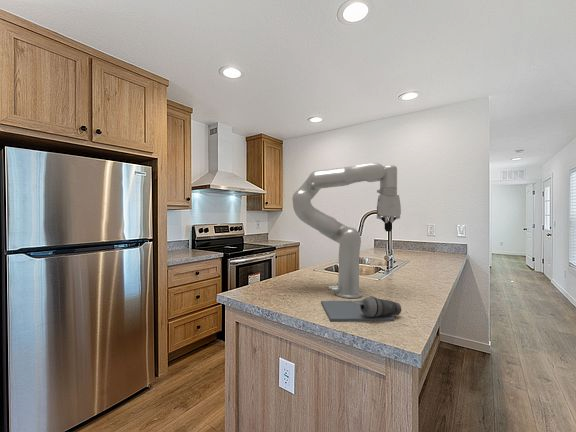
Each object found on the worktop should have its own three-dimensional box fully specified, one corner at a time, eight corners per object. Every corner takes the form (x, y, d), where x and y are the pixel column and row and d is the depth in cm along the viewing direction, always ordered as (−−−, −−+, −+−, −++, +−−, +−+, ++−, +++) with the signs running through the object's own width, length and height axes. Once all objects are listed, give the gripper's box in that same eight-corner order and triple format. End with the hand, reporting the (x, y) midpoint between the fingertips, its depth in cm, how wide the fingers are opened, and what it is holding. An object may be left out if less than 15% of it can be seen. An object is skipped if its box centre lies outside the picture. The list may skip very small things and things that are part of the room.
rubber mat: (330, 321, 97) (330, 318, 97) (321, 303, 117) (321, 300, 117) (394, 321, 98) (394, 318, 98) (374, 302, 118) (374, 300, 118)
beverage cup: (388, 312, 107) (343, 309, 100) (392, 295, 106) (348, 291, 99) (400, 322, 100) (354, 320, 93) (406, 304, 99) (359, 300, 93)
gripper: (374, 191, 126) (374, 231, 126) (407, 191, 125) (407, 231, 125) (370, 192, 133) (370, 230, 134) (401, 192, 133) (401, 230, 133)
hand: (388, 231), depth 130 cm, fingers closed
